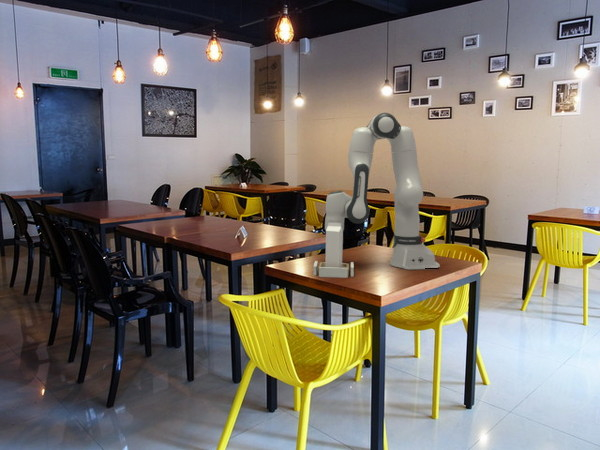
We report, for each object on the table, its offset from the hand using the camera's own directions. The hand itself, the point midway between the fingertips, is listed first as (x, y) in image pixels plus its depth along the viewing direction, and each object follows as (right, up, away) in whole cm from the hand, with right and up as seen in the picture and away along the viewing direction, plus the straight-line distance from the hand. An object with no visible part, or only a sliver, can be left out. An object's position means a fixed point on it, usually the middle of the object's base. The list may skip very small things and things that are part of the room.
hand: (333, 255), depth 228 cm
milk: (-1, -7, -15) cm, 16 cm away
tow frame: (0, -6, -9) cm, 11 cm away
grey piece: (-1, -7, -16) cm, 17 cm away
